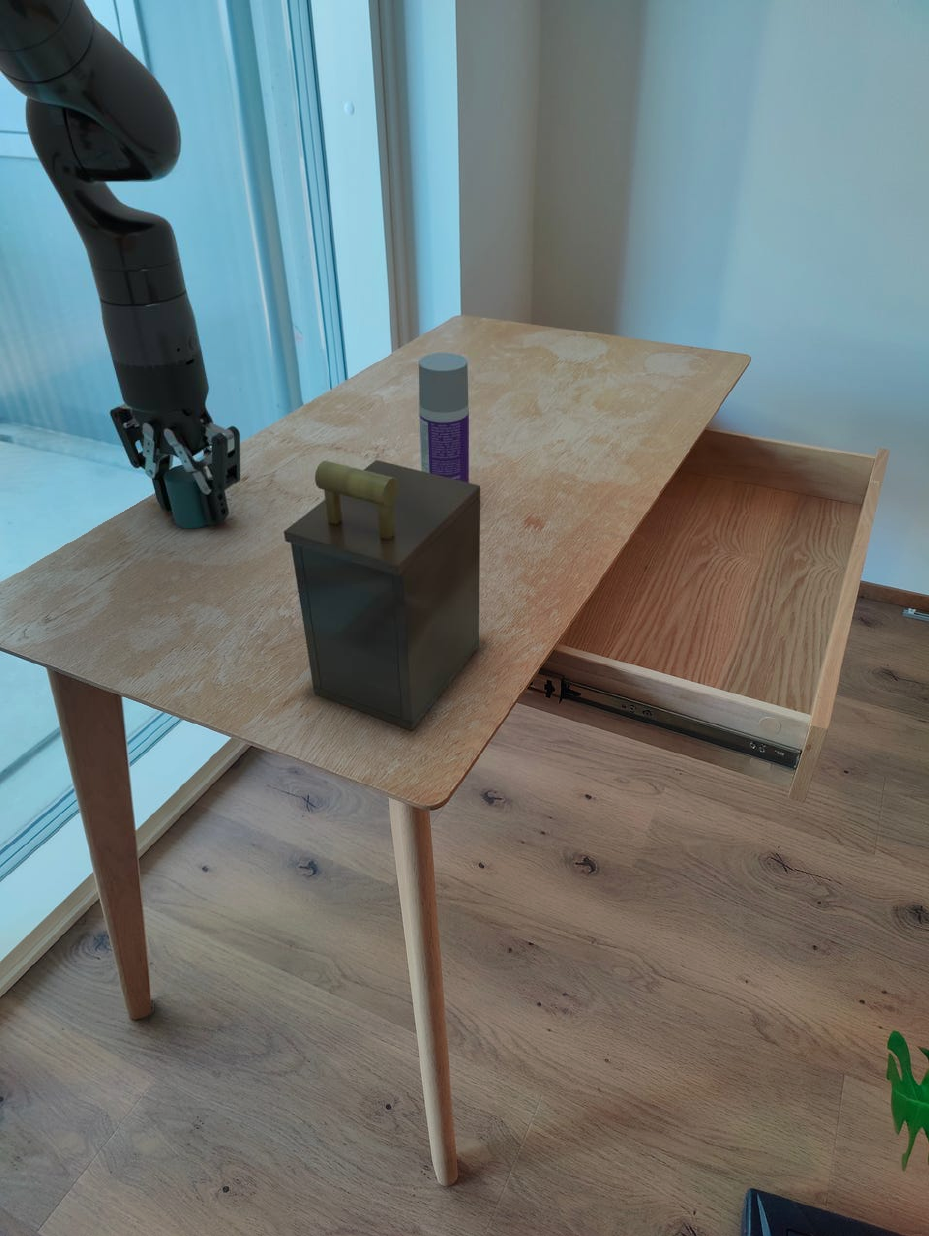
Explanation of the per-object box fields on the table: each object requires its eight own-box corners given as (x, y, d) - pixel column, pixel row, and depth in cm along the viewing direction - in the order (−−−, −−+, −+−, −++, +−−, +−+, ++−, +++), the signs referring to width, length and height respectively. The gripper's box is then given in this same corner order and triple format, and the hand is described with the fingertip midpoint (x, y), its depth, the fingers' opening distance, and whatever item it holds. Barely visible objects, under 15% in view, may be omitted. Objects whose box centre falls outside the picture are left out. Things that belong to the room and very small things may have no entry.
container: (477, 501, 86) (478, 358, 76) (452, 522, 82) (450, 374, 73) (439, 490, 88) (436, 348, 78) (413, 509, 84) (407, 364, 75)
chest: (412, 731, 60) (402, 572, 51) (313, 693, 63) (289, 537, 54) (479, 647, 67) (480, 496, 59) (388, 617, 70) (376, 469, 62)
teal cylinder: (181, 533, 81) (170, 487, 78) (169, 515, 84) (158, 470, 81) (221, 521, 83) (212, 476, 80) (208, 504, 85) (198, 460, 82)
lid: (398, 576, 51) (393, 504, 48) (285, 541, 54) (273, 472, 51) (480, 495, 59) (480, 429, 56) (376, 469, 62) (371, 405, 59)
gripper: (62, 346, 73) (113, 515, 83) (188, 375, 67) (226, 551, 78) (126, 321, 78) (167, 482, 88) (248, 345, 73) (276, 514, 83)
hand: (194, 514), depth 83 cm, fingers open, 5 cm apart
